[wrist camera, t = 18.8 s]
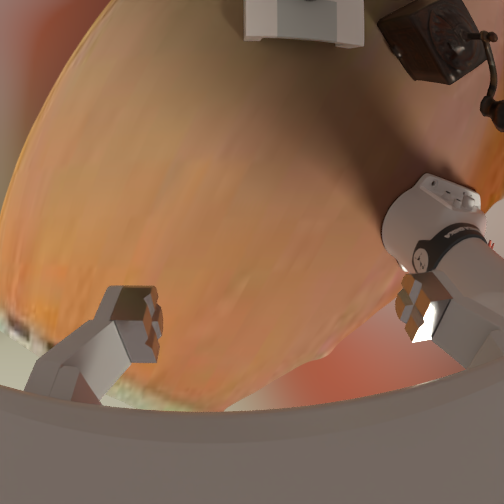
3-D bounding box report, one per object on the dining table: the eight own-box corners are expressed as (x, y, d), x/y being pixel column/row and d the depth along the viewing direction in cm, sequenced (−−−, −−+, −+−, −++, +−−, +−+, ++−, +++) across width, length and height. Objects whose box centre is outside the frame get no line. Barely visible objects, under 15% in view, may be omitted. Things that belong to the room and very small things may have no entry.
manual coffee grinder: (371, 24, 31) (451, 7, 15) (419, -2, 27) (502, -17, 12) (424, 111, 38) (507, 142, 22) (466, 81, 34) (548, 102, 19)
